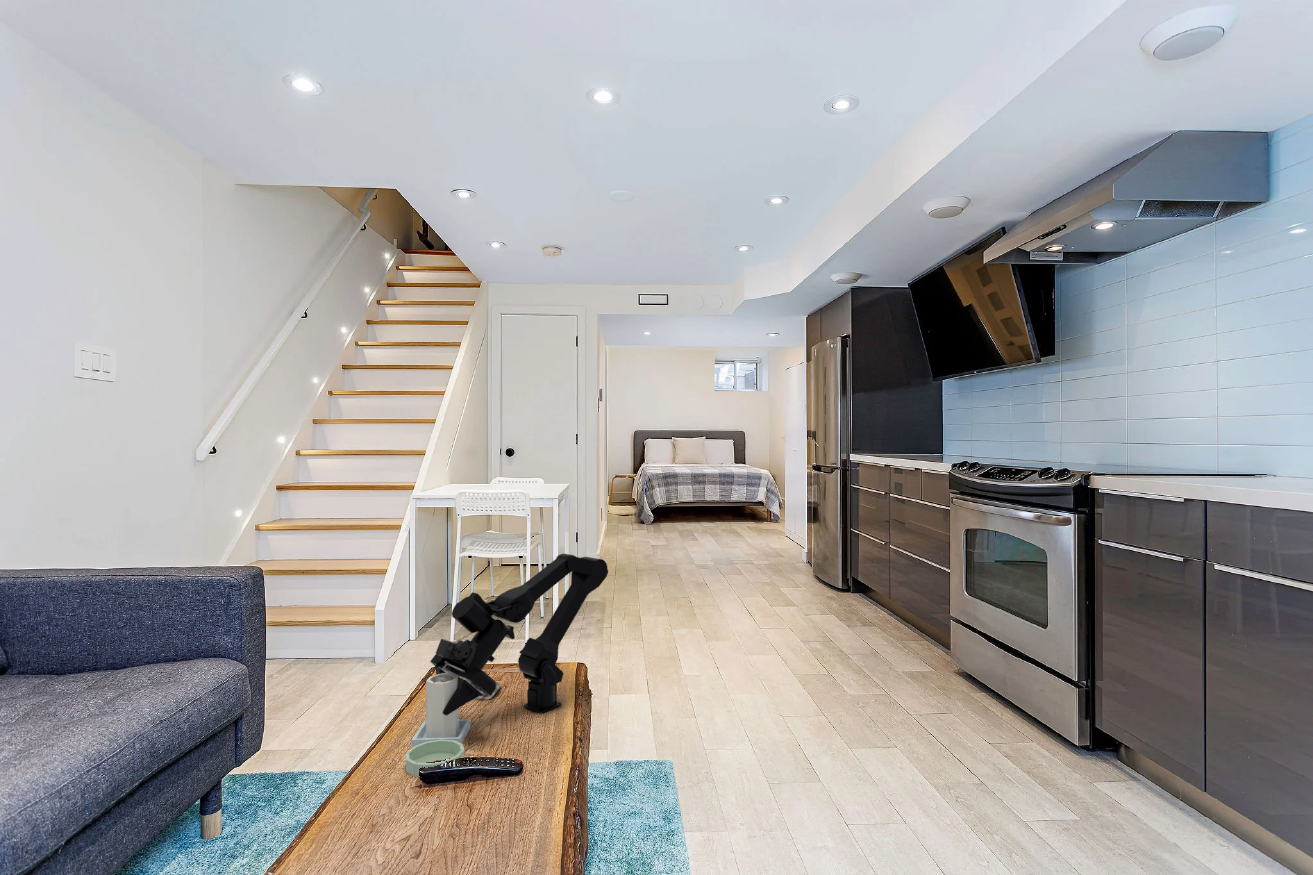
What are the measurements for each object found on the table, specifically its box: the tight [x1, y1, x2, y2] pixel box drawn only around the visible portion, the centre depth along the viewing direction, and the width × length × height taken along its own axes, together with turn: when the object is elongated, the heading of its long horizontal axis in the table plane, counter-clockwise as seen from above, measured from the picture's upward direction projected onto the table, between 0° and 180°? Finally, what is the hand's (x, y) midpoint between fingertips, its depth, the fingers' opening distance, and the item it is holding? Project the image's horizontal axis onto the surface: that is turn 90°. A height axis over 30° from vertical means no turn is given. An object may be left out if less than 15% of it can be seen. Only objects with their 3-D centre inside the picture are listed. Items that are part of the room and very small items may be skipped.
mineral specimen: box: [472, 682, 502, 702], centre depth 162 cm, size 15×8×4 cm, turn 8°
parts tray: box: [410, 718, 472, 749], centre depth 134 cm, size 10×10×2 cm
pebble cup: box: [425, 673, 460, 738], centre depth 135 cm, size 6×6×12 cm
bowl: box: [405, 740, 465, 778], centre depth 123 cm, size 10×10×3 cm
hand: (436, 710), depth 134 cm, fingers closed on pebble cup, 6 cm apart
